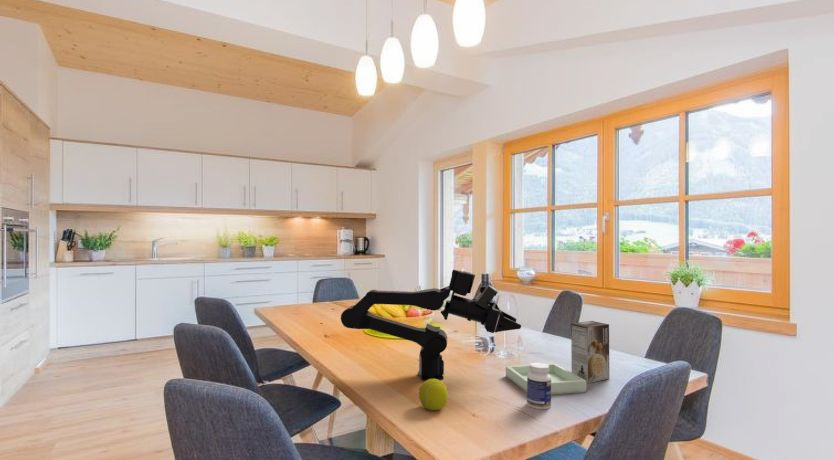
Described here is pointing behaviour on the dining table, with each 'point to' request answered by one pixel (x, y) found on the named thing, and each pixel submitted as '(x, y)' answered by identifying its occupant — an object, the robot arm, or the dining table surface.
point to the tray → (560, 379)
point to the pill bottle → (539, 386)
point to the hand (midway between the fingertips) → (518, 323)
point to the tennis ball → (433, 394)
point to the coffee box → (590, 350)
